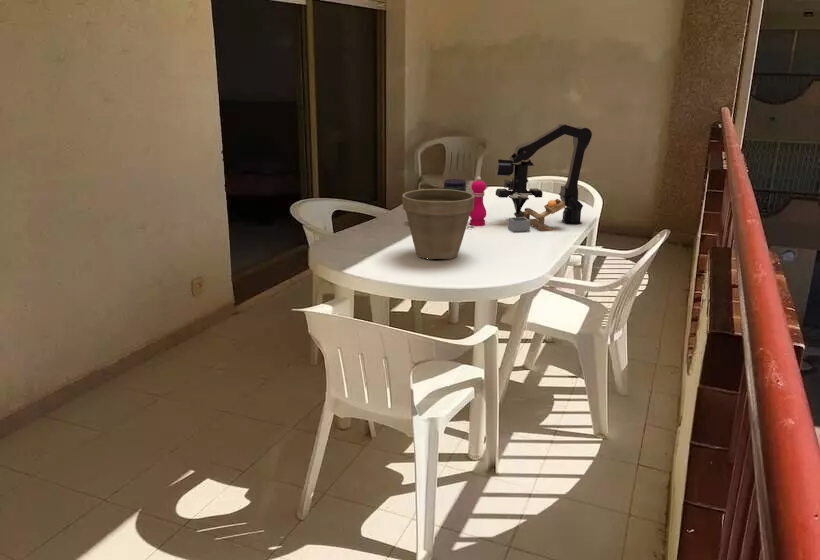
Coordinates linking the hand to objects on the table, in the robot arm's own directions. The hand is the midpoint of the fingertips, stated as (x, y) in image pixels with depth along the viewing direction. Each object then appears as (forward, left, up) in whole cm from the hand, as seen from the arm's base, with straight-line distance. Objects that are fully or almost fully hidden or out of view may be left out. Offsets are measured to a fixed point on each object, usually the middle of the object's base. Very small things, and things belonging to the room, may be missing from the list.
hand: (517, 213), depth 278 cm
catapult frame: (-7, +5, -4) cm, 10 cm away
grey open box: (+3, +11, -4) cm, 12 cm away
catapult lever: (-8, +6, +1) cm, 10 cm away
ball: (-10, +11, +6) cm, 16 cm away
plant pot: (+44, +39, -5) cm, 59 cm away
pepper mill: (+17, -2, -5) cm, 17 cm away
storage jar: (+22, -21, -5) cm, 30 cm away
